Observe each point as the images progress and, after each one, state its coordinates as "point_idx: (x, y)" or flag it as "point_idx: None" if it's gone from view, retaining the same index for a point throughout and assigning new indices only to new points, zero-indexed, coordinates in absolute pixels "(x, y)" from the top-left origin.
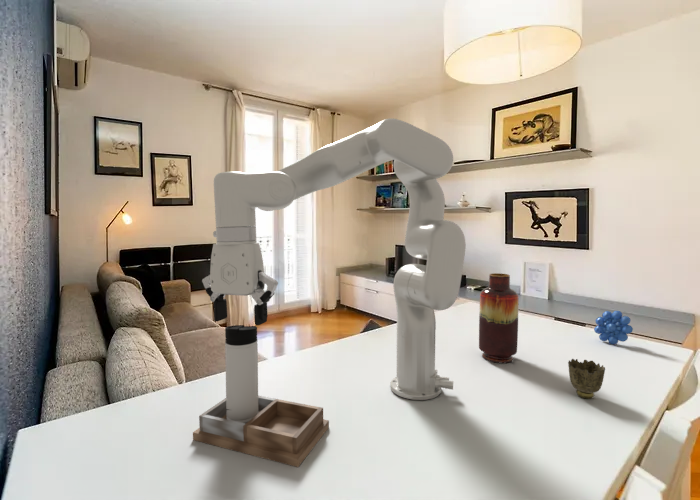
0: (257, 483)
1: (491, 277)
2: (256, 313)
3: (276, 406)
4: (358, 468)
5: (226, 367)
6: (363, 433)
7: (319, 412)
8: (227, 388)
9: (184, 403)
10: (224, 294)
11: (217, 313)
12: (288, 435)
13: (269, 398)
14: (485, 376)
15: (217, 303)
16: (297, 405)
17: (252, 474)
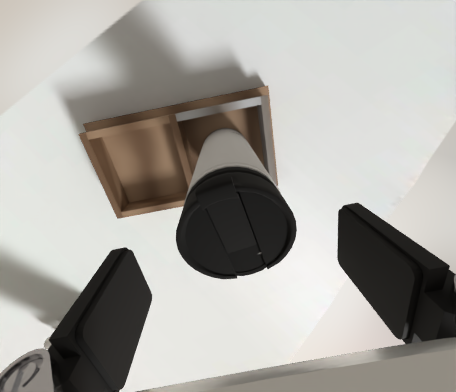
0: (103, 65)
1: None
2: (87, 289)
3: None
4: (32, 161)
5: (245, 150)
6: (83, 221)
7: (112, 206)
8: (236, 139)
9: (362, 150)
10: (356, 353)
11: (362, 229)
12: (93, 132)
13: None
14: None
15: (408, 272)
16: (155, 205)
17: (124, 76)
